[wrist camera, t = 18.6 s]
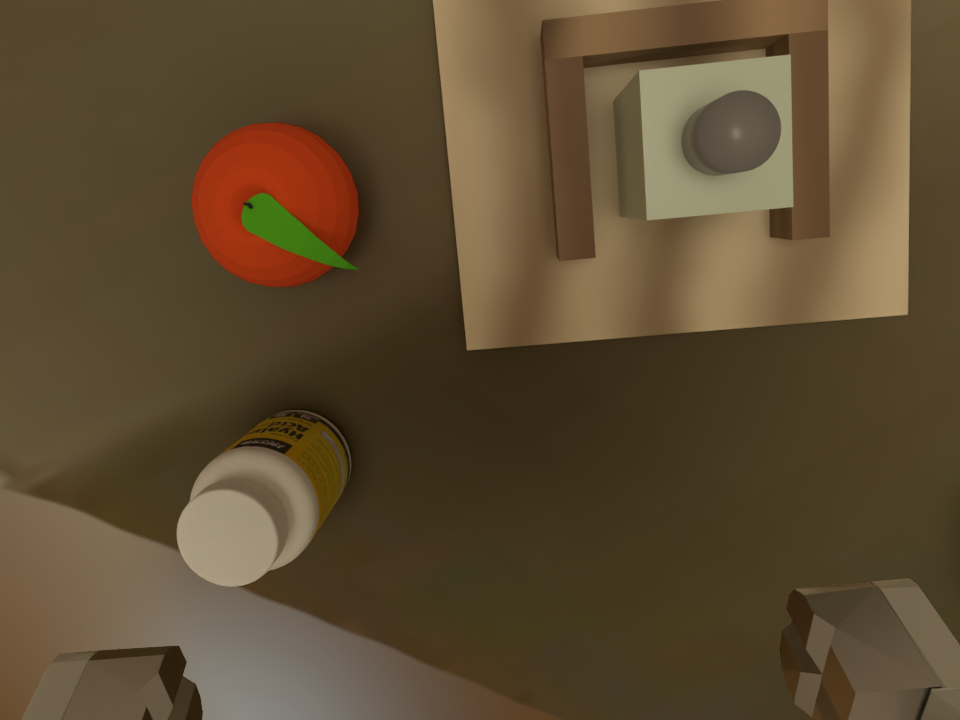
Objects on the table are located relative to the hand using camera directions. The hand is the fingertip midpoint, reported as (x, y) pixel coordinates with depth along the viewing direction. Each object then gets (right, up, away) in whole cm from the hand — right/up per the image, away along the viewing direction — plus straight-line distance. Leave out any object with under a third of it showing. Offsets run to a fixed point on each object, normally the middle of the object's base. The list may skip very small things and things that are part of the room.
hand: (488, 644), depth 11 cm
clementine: (-8, +11, +27) cm, 30 cm away
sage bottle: (+8, +13, +24) cm, 29 cm away
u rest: (+9, +13, +25) cm, 29 cm away
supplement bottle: (-9, -1, +29) cm, 31 cm away
